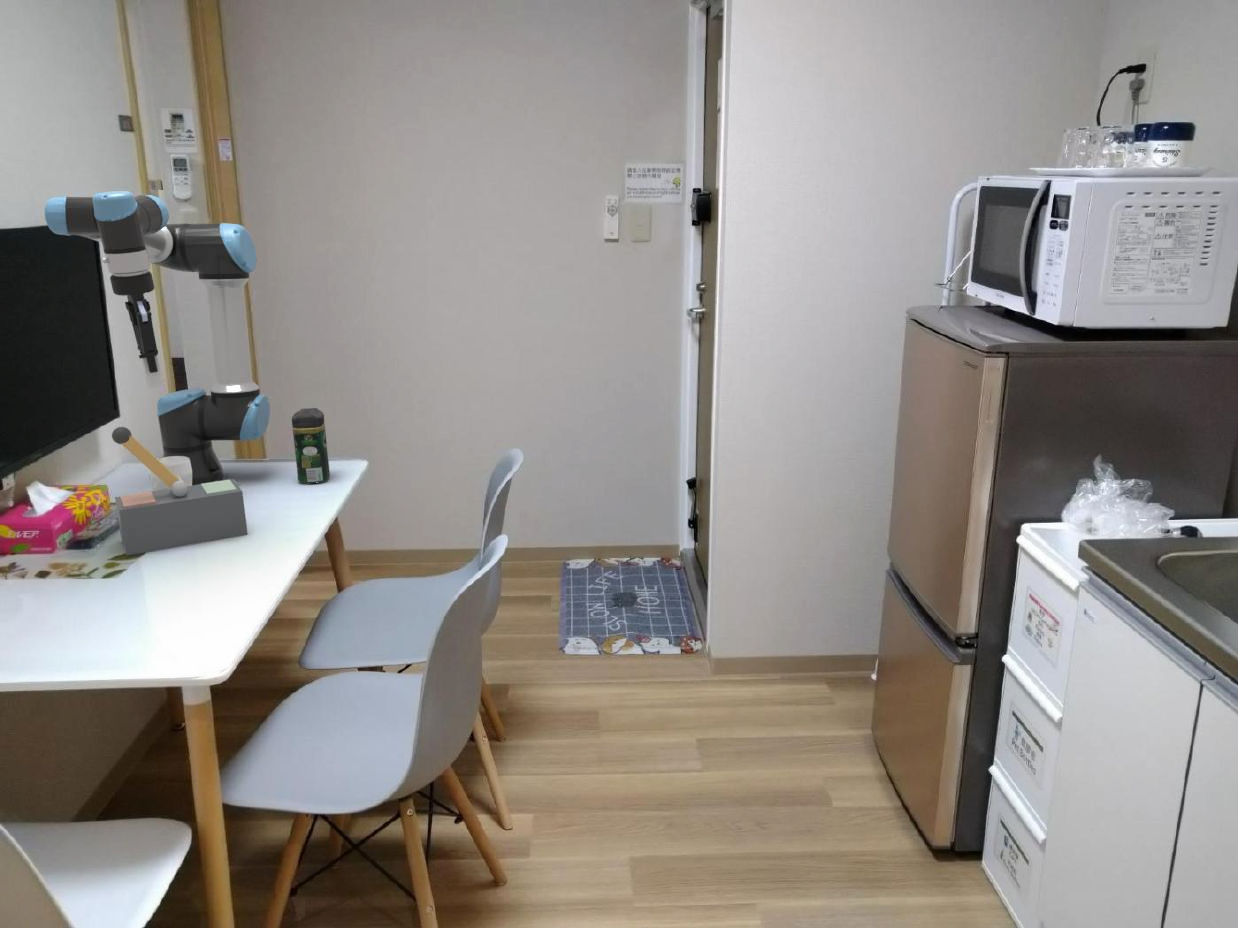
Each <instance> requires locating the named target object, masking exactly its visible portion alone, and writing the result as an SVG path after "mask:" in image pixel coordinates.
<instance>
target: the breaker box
mask: <svg viewBox="0 0 1238 928" xmlns="http://www.w3.org/2000/svg"><path fill="white" fill-rule="evenodd" d="M187 488H188V491H187V493H186V494H185V495H184V496H181V497H178V496H175V495H174V494H173V492H172V490H171V489H166V490H159V491H154V490H153V491H152V490H151V491H143V492H138V493H137V492H136V493H131V494H125V495H124V494H123V495H119V496H114V500H115V501H114V502H115V507H116V512H117V513H116V515H117V521H118V526H119V533H120V538H121V543H122V546H123V551H124V553H125V556H126V557H128V556H133V555H134V556H135V555H139V554H144V553H149V552H157V551H162V550H167V549H173V548H179V547H185V546H189V545H195V544H202V543H206V542H211V541H217V540H223V539H228V538H233V537H239V536H240V537H241V536H245V535H248V527H247V518H246V517H247V516H246V510H245V509H246V508H245V502H244V501H245V500H244V492H243V490H242V488H241V487H240V486H239V485H238V483H237V481H235V479H224V480H223V479H222V480H217V481H215V482H210V483H203V484H199V485H193V486H187Z"/></svg>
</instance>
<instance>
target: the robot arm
mask: <svg viewBox="0 0 1238 928" xmlns="http://www.w3.org/2000/svg"><path fill="white" fill-rule="evenodd" d="M44 219H45V223H46V225H47V227H48V229H49V230H50V231H52V233H53V234H56V235H60V236H67V237H68V236H69V237H70V236H80V237H83V238H87V239H90V240H93V241H95V242H99V243H101V244H102V245H101V246H102V248H103V250H102V251H103V252H104V256H105V257H103V258H102V263H104V264H107V265H106V266H107V269H108V273H110V274H111V275H110V277H109V279H110V283H111V288H112V289H111V290H112V291H113V292H112V293H113V294H114V295H116V296H124V297H125V296H127V297H126V298H127V301H125V302H124V304H125V309H126V310H127V312H128V316H129V321H130V322H131V326H132V329H133V333H134V337H135V341H136V344H137V350H138V351H139V355H138V358H139V360H141V361H142V365H143V369H144V375H145V377H146V382H147V383H146V384H147V385H148V386H147V387H148V388H149V389H153V388H159V387H160V388H161V387H163V386H164V381H163V378H162V377H163V376H162V372H161V368H160V363H159V359H158V355H159V350H158V347H157V343H156V337H155V331H154V330H155V329H154V326H153V325H154V324H153V319H152V318H153V317H152V312H151V304H150V301H147V299H145V295H144V294H146V293H148V294H149V293H151V292H152V291H154V290H155V285H154V280H153V279H154V278H153V275H152V272H151V271H149V270H150V269H151V264H153V265H156V266H159V267H162V268H166V269H171V270H174V271H178V272H184V273H185V272H186V273H187V272H188V273H198V274H197V275H198V280H199V282H201V283H202V284H203V285H204V286H205V288H206V295H207V303H208V304H207V305H208V316H209V323H210V325H209V326H210V332H211V334H210V336H211V345H212V353H213V363H214V373H215V374H214V375H215V384H214V385H213V386H212V387H211V388H210V395H208V394H207V391H206V390H205V388H199V387H198V388H189V389H188V388H187V389H183V390H182V389H181V390H178V391H174V392H173V391H172V392H170V393H167V394H164V395H162V396H161V397H159V398H158V400H157V402H156V405H157V406H156V409H157V413H156V415H157V417H158V424H159V431H160V437H161V444H162V451H163V455H162V458H163V457H169V456H185V457H188V458H190V463H191V468H192V486H193V485H199V484H203V483H210V482H216V481H220V479H222V478H223V477H224V471H223V466H222V464H221V462H220V460H219V458H218V457H217V454H216V452H215V450H214V448H213V441H215V442H216V441H241V442H246V441H257V440H259V439H261V438H262V437H263V436H264V435H265V433H266V431H267V428H268V426H269V421H270V416H271V405H270V401H269V398H268V396H266V395H264V394H262V393H261V392H260V391H261V389H260V386H259V385H258V384H257V383H255V382H254V380H253V373H252V372H253V371H252V363H251V362H252V361H251V352H250V351H251V350H250V339H249V329H248V319H247V309H246V308H247V307H246V298H245V297H246V296H245V288H244V287H245V285H246V283H248V281H249V280H250V273H253V272H254V271H255V270H256V268H257V261H258V259H257V258H258V257H257V250H256V247H255V244H254V240H253V238H252V236H251V235H250V233H249V231H248V230H247V229H246V228H245V227H244V226H243V225H242V224H237V223H225V222H221V223H220V222H219V223H214V222H213V223H168V222H169V219H170V213H169V209H168V207H167V205H166V203H165V202H164V201H163V200H162V199H160V198H159V197H157V196H154V195H151V194H140V195H137V196H135V195H134V194H133V193H132V192H131V191H128V190H117V191H116V190H114V191H105V192H98V193H95V194H94V195H93V196H91V197H90V196H86V197H85V196H67V195H65V196H59V197H51V198H49V199H48V200H47V201H46V203H45V206H44Z"/></svg>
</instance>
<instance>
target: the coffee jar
mask: <svg viewBox="0 0 1238 928" xmlns="http://www.w3.org/2000/svg"><path fill="white" fill-rule="evenodd" d="M291 426H292V427H291V428H292V435H293V437H292V438H293V445H294V451H295V452H294V454H295V462H296V470H297V471H296V473H297V481H298V482H299V483H300V482H301V484H306V483H316V482H320V483H323V482H324V481H325V482H326V481H328V479H329V478H330V473H331V471H330V464H329V463H330V462H329V453H328V446H327V445H328V444H327V443H328V442H327V433H326V423H325V415H324V411H322V410H319V408H317V407H316V408H315V407H313V408H310V407H309V408H307V407H306V408H301V409H300V410H298V411H296V412H295V413H294V414H293V415H292V417H291Z"/></svg>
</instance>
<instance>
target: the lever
mask: <svg viewBox="0 0 1238 928" xmlns="http://www.w3.org/2000/svg"><path fill="white" fill-rule="evenodd" d="M111 438H112V441H113V442H114V443H116V444H118V445H122V446H123V448H125V449H126V451H127V450H128V451H129V453H131V454H132V455H133V456H134V457H135V458H136V459H137V460H138V461H140V462H141V463H142V464H143V465H144V466H145V467H146V468H147V469H149V471H150V470H151V471H152V472H153V473H154V474H155V475H156V476H158V477H159V478H160V479H161V480H162V481H163V482H164V483H165V484H166V485H168V486H169V487H170V488H171V490H172V492H173V494H174V495H175V496H178V497H181V496H184V495H185V494H186V493H187V491H188V488H187V486H186V484H185V482H184V481H183V479H182V478H181V477H179V476H176V475H175V474H174V473H172V472H171V471H170V470H169V469H168V468H167V467H166V466H165V465H164V464H162V463H161V462H160V461H159V460H158V458H157V457H156V456H155V455H154V454H153V453H152V452H150V451H149V450H148V449H147V448H146V447H145V446H144V445H143V444H142V443H141V442H140V441H138V440H137V439H136V438H135V437H134V436H133V435H132V432H131V430H130V429H129V428H127V427H124V426H118V427H116V428H114V430H113V431H112V432H111Z"/></svg>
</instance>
